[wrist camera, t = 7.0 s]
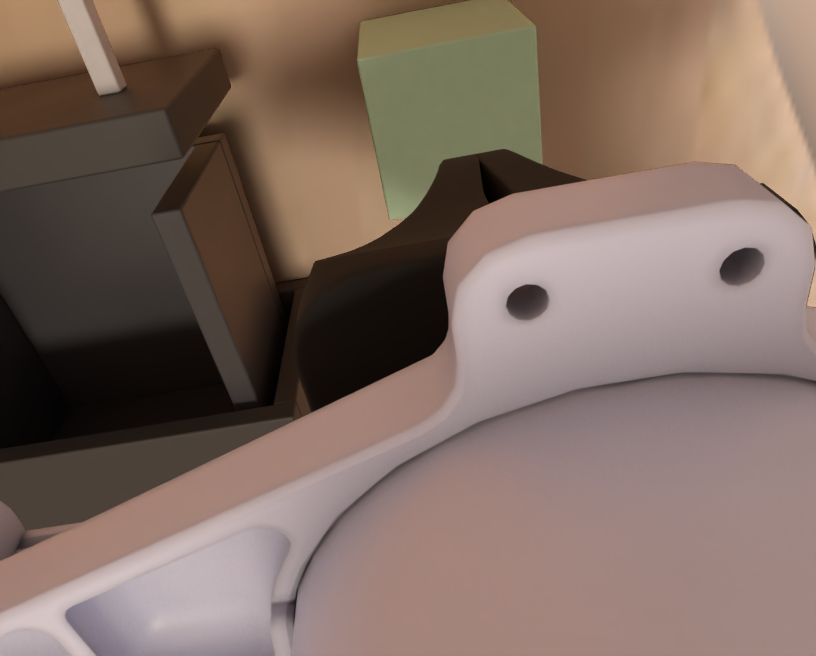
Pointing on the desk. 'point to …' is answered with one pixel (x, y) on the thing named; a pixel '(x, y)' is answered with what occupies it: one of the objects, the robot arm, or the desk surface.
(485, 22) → the block
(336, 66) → the desk surface
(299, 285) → the small drawer cabinet
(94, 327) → the black drawer
